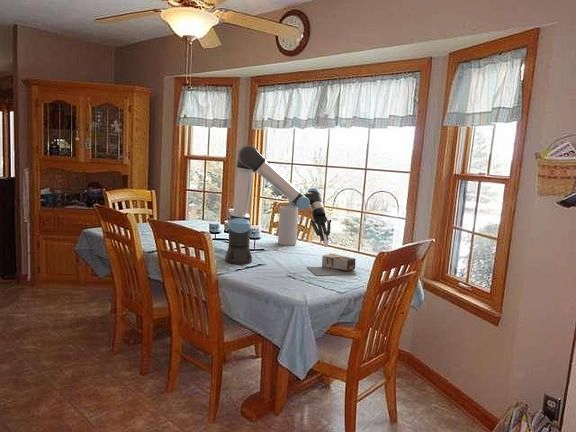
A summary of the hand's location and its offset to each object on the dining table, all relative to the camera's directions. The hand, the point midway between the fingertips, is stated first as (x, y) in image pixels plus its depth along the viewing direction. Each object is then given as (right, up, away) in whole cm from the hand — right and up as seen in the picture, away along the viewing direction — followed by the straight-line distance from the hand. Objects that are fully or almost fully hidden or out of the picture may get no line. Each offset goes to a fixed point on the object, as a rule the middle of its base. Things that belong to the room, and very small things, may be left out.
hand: (326, 245), depth 245 cm
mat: (+2, -13, -7) cm, 15 cm away
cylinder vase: (-22, -3, +55) cm, 59 cm away
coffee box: (0, -8, +3) cm, 9 cm away
